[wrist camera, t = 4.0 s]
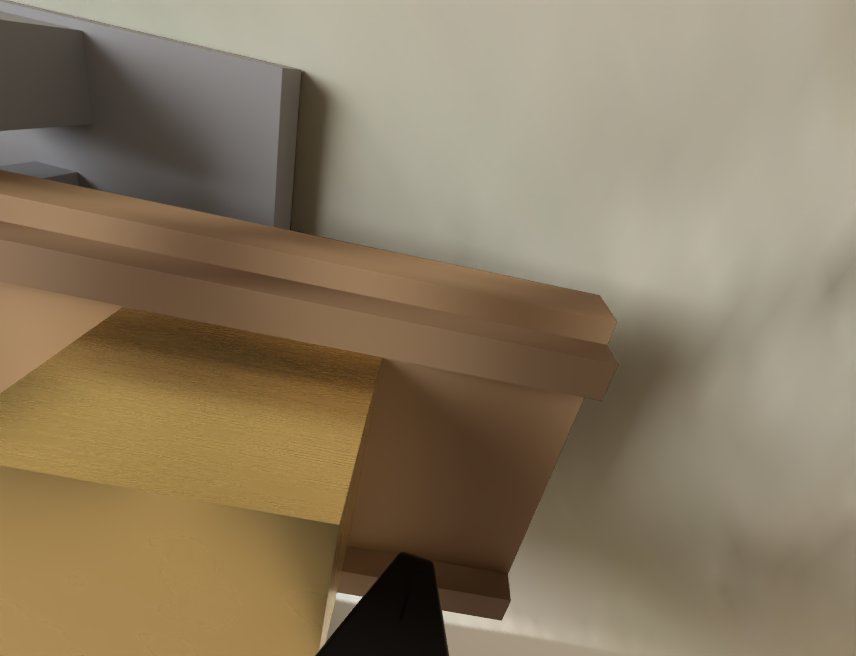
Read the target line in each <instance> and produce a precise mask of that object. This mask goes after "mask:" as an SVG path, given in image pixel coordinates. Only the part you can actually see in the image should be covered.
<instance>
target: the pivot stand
mask: <svg viewBox="0 0 856 656" xmlns="http://www.w3.org/2000/svg"><path fill="white" fill-rule="evenodd" d="M300 84H301V70H300V69H296V68H292V67H288V66H283V65H279V64H275V63H271V62H266V61H262V60H258V59H254V58H249V57H245V56H241V55H237V54H232V53H228V52H224V51H220V50H215V49H211V48H207V47H203V46H198V45H194V44H190V43H186V42H181V41H177V40H173V39H169V38H165V37H160V36H156V35H152V34H148V33H143V32H139V31H135V30H131V29H126V28H122V27H118V26H114V25H109V24H105V23H101V22H97V21H92V20H88V19H84V18H80V17H75V16H71V15H67V14H63V13H58V12H54V11H50V10H46V9H41V8H37V7H33V6H29V5H24V4H20V3H16V2H12V1H7V0H0V170H4V171H9V172H14V173H18V174H23V175H28V176H33V177H37V178H42V179H47V180H52V181H57V182H61V183H66V184H71V185H76V186H80V187H85V188H90V189H95V190H99V191H104V192H109V193H114V194H119V195H123V196H128V197H133V198H138V199H142V200H147V201H152V202H157V203H161V204H166V205H171V206H176V207H181V208H185V209H190V210H195V211H200V212H204V213H209V214H214V215H219V216H223V217H228V218H233V219H238V220H243V221H247V222H252V223H257V224H262V225H266V226H271V227H276V228H281V229H285V230H290V222H291V208H292V194H293V180H294V166H295V153H296V139H297V125H298V111H299V97H300Z"/></svg>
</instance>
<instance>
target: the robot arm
mask: <svg viewBox="0 0 856 656" xmlns="http://www.w3.org/2000/svg"><path fill="white" fill-rule="evenodd" d="M446 640H447V639H446V633H445V627H444V621H443V615H442V609H441V603H440V597H439V591H438V584H437V578H436V572H435V567H434V564H433V562H432V561H431V560H429V559H426V558H423V557H419V556H416V555H413V554H410V553H407V552H400V553H399V554H398V555H397V556H396V557H395V558H394V559H393V561H392V562H391V563H390V564H389V565H388V567H387V568H386V569H385V570H384V572H383V573H382V574H381V575H380V577H379V578H378V579H377V580H376V581H375V583H374V584H373V585H372V586H371V588H370V589H369V590H368V591H367V592H366V594H365V595H364V596H363V597H362V599H361V600H360V601H359V602H358V604H357V605H356V606H355V607H354V608H353V610H352V611H351V612H350V613H349V615H348V616H347V617H346V618H345V620H344V621H343V622H342V623H341V624H340V626H339V627H338V628H337V629H336V631H335V632H334V633H333V634H332V635H331V637H330V638H329V639H328V640H327V642H326V643H325V644H324V645H323V646H322V648H321V649H320V650H319V651H318V653H317V654H316V655H315V656H449V652H448V646H447V641H446Z"/></svg>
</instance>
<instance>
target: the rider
mask: <svg viewBox="0 0 856 656" xmlns="http://www.w3.org/2000/svg"><path fill="white" fill-rule="evenodd" d="M381 358H382V357H377V356H372V355H367V354H362V353H357V352H352V351H347V350H342V349H337V348H332V347H327V346H322V345H317V344H311V343H306V342H301V341H296V340H291V339H286V338H280V337H275V336H270V335H265V334H260V333H255V332H249V331H244V330H239V329H234V328H229V327H223V326H218V325H213V324H208V323H203V322H198V321H192V320H187V319H182V318H177V317H172V316H166V315H161V314H156V313H151V312H146V311H141V310H135V309H130V308H125V307H122V308H120V309H119V310H118V311H116V312H115V313H113V314H112V315H110V316H109V317H108V318H106V319H105V320H103V321H102V322H101V323H99V324H98V325H96V326H95V327H93V328H92V329H91V330H89V331H88V332H86V333H85V334H84V335H82V336H81V337H79V338H78V339H76V340H75V341H74V342H72V343H71V344H69V345H68V346H67V347H65V348H64V349H62V350H61V351H59V352H58V353H57V354H55V355H54V356H52V357H51V358H50V359H48V360H47V361H45V362H44V363H42V364H41V365H40V366H38V367H37V368H35V369H34V370H33V371H31V372H30V373H28V374H27V375H25V376H24V377H23V378H21V379H20V380H18V381H17V382H16V383H14V384H13V385H11V386H10V387H8V388H7V389H6V390H4V391H3V392H1V393H0V656H315V655H316V654H317V653H318V651H319V650H320V649H321V648H322V646H323V645H324V644H325V642H326V638H327V633H328V629H329V625H330V620H331V616H332V611H333V607H334V602H335V598H336V593H337V589H338V585H339V580H340V576H341V571H342V567H343V562H344V558H345V553H346V549H347V545H348V540H349V536H350V531H351V526H352V520H353V515H354V509H355V504H356V498H357V492H358V487H359V481H360V476H361V470H362V464H363V459H364V453H365V448H366V442H367V437H368V431H369V425H370V420H371V414H372V409H373V403H374V398H375V392H376V386H377V381H378V375H379V370H380V364H381Z"/></svg>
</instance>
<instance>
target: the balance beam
mask: <svg viewBox="0 0 856 656" xmlns="http://www.w3.org/2000/svg"><path fill="white" fill-rule="evenodd" d="M122 307H125V308H130V309H135V310H141V311H146V312H151V313H156V314H161V315H166V316H172V317H177V318H182V319H187V320H192V321H198V322H203V323H208V324H213V325H218V326H223V327H229V328H234V329H239V330H244V331H249V332H255V333H260V334H265V335H270V336H275V337H280V338H286V339H291V340H296V341H301V342H306V343H311V344H317V345H322V346H327V347H332V348H337V349H342V350H347V351H352V352H357V353H362V354H367V355H372V356H377V357H382V358H381V364H380V370H379V375H378V381H377V386H376V392H375V398H374V403H373V409H372V414H371V420H370V425H369V431H368V437H367V442H366V448H365V453H364V459H363V464H362V470H361V476H360V481H359V487H358V492H357V498H356V504H355V509H354V515H353V520H352V526H351V531H350V536H349V540H348V545H347V549H346V553H345V558H344V562H343V567H342V571H341V576H340V580H339V585H338V589H337V592H339V593H345V594H351V595H356V596H362V597H363V596H364V595H365V594H366V592H367V591H368V590H369V589H370V588H371V586H372V585H373V584H374V583H375V581H376V580H377V579H378V578H379V577H380V575H381V574H382V573H383V572H384V570H385V569H386V568H387V567H388V565H389V564H390V563H391V562H392V561H393V559H394V558H395V557H396V556H397V555H398V554H399V553H400V552H407V553H410V554H413V555H416V556H419V557H423V558H426V559H429V560H431V561H432V562H433V564H434V567H435V572H436V578H437V584H438V591H439V597H440V603H441V609H442V610H444V611H450V612H455V613H461V614H467V615H473V616H479V617H484V618H490V619H496V620H502V619H503V616H504V614H505V612H506V610H507V608H508V605H509V603H510V601H511V599H510V590H509V581H508V573H509V570H510V568H511V566H512V563H513V561H514V559H515V556H516V554H517V552H518V549H519V547H520V545H521V543H522V540H523V538H524V536H525V533H526V531H527V529H528V526H529V524H530V522H531V519H532V517H533V515H534V513H535V510H536V508H537V506H538V503H539V501H540V499H541V496H542V494H543V492H544V489H545V487H546V485H547V483H548V480H549V478H550V476H551V473H552V471H553V469H554V466H555V464H556V462H557V459H558V457H559V455H560V453H561V450H562V448H563V446H564V443H565V441H566V439H567V436H568V434H569V432H570V429H571V427H572V425H573V423H574V420H575V418H576V416H577V413H578V411H579V409H580V406H581V404H582V402H583V399H584V398H589V399H594V400H599V401H602V399H603V397H604V395H605V393H606V390H607V388H608V386H609V384H610V382H611V379H612V377H613V375H614V373H615V371H616V368H617V366H618V363H617V361H616V360H615V358H614V356H613V354H612V353H611V351H610V349H609V347H608V346H607V344H608V342H609V339H610V337H611V335H612V333H613V330H614V328H615V326H616V323H617V321H616V319H615V318H614V316H613V315H612V313H611V312H610V310H609V309H608V307H607V306H606V304H605V303H604V301H603V300H602V298H601V296H600V295H595V294H591V293H586V292H581V291H576V290H572V289H567V288H562V287H557V286H553V285H548V284H543V283H538V282H533V281H529V280H524V279H519V278H514V277H510V276H505V275H500V274H495V273H491V272H486V271H481V270H476V269H471V268H467V267H462V266H457V265H452V264H448V263H443V262H438V261H433V260H429V259H424V258H419V257H414V256H409V255H405V254H400V253H395V252H390V251H386V250H381V249H376V248H371V247H367V246H362V245H357V244H352V243H347V242H343V241H338V240H333V239H328V238H324V237H319V236H314V235H309V234H305V233H300V232H295V231H290V230H285V229H281V228H276V227H271V226H266V225H262V224H257V223H252V222H247V221H243V220H238V219H233V218H228V217H223V216H219V215H214V214H209V213H204V212H200V211H195V210H190V209H185V208H181V207H176V206H171V205H166V204H161V203H157V202H152V201H147V200H142V199H138V198H133V197H128V196H123V195H119V194H114V193H109V192H104V191H99V190H95V189H90V188H85V187H80V186H76V185H71V184H66V183H61V182H57V181H52V180H47V179H42V178H37V177H33V176H28V175H23V174H18V173H14V172H9V171H4V170H0V393H1V392H3V391H4V390H6V389H7V388H8V387H10V386H11V385H13V384H14V383H16V382H17V381H18V380H20V379H21V378H23V377H24V376H25V375H27V374H28V373H30V372H31V371H33V370H34V369H35V368H37V367H38V366H40V365H41V364H42V363H44V362H45V361H47V360H48V359H50V358H51V357H52V356H54V355H55V354H57V353H58V352H59V351H61V350H62V349H64V348H65V347H67V346H68V345H69V344H71V343H72V342H74V341H75V340H76V339H78V338H79V337H81V336H82V335H84V334H85V333H86V332H88V331H89V330H91V329H92V328H93V327H95V326H96V325H98V324H99V323H101V322H102V321H103V320H105V319H106V318H108V317H109V316H110V315H112V314H113V313H115V312H116V311H118V310H119V309H120V308H122Z"/></svg>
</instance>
